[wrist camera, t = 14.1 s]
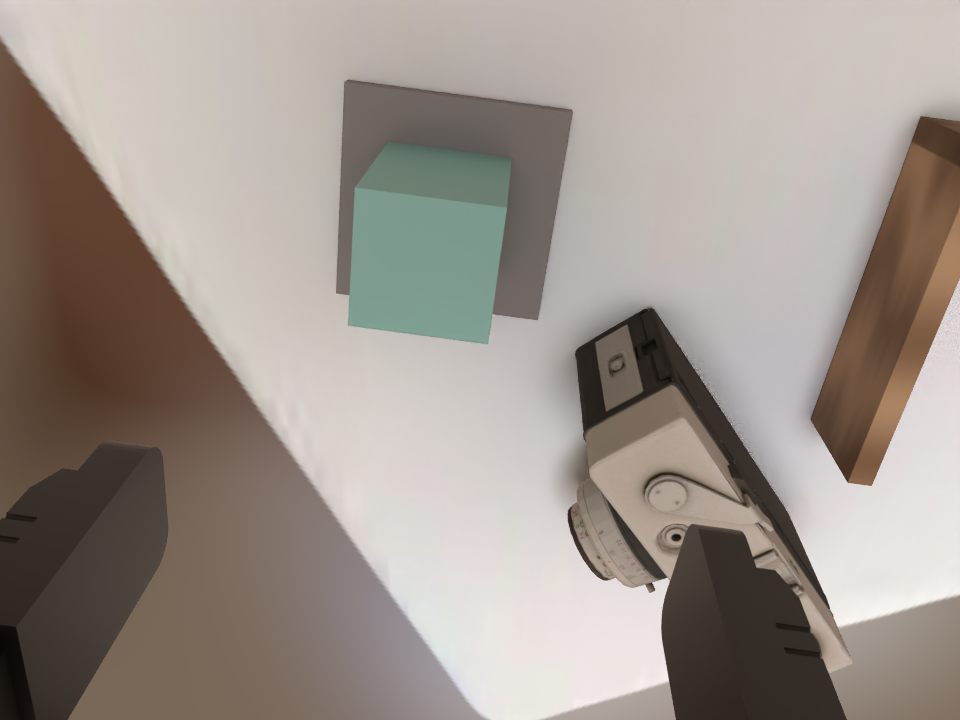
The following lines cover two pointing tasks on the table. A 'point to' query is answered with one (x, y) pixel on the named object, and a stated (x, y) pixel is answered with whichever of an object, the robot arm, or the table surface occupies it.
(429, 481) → the table surface
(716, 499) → the camera
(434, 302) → the block
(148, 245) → the table surface
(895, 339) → the bay
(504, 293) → the mat
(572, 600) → the table surface
